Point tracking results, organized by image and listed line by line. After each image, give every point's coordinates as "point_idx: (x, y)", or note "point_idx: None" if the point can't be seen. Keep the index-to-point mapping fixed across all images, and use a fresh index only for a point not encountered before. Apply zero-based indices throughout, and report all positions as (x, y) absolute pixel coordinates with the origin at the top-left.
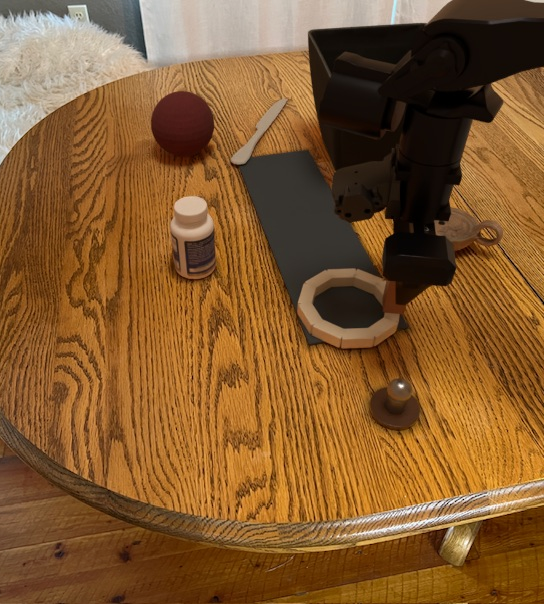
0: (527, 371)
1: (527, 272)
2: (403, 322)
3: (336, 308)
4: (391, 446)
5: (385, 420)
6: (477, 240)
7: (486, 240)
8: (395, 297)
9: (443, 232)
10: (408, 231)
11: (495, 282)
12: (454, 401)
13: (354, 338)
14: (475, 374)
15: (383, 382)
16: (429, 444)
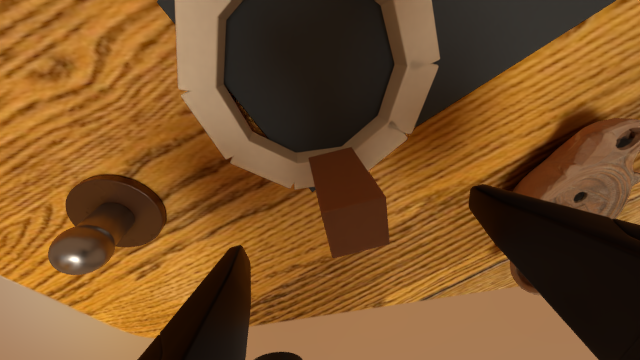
0: (294, 312)
1: (463, 286)
2: None
3: (309, 42)
4: (47, 223)
5: (73, 211)
6: None
7: None
8: (210, 272)
9: None
10: (526, 257)
11: (441, 264)
12: (198, 268)
13: (199, 121)
14: (261, 277)
15: (167, 183)
16: None
